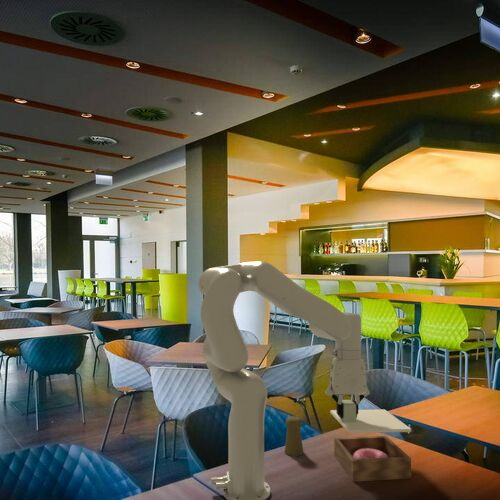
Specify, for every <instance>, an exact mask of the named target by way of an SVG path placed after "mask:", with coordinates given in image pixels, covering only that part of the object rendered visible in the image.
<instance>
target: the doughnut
mask: <svg viewBox="0 0 500 500" xmlns="http://www.w3.org/2000/svg"><path fill="white" fill-rule="evenodd" d="M353 457H354V459H355V460H357V459H375V458H388V456H387V455H386V454H385V453H384V452H382V451H379V450H376V449H370V448H366V449H361V448H360V450H357V451H356V452H355V453H354V454H353Z"/></svg>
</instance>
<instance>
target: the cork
mask: <svg viewBox="0 0 500 500" xmlns="http://www.w3.org/2000/svg"><path fill="white" fill-rule="evenodd" d="M285 426H286V428H287V431H286V437H285V438H286V439H285V447H284V453H285V455H287V456H289V457H299V456H302V455H303V454H304V447H303V438H302V432H301V431H302V430H301V427H302V426H303V421H302V418H300V417H299V416H294V415H293V416H288V417H287V418H286V420H285Z"/></svg>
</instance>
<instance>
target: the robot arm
mask: <svg viewBox="0 0 500 500" xmlns="http://www.w3.org/2000/svg"><path fill="white" fill-rule="evenodd" d="M198 288H199V291H200V292H201V294H202V295H204V297H203V299H202V303H201V307H200V321H201V324H202V327H203V329H204V333H205V336H206V338H205V340H204V341H203V345H202V354H203V359H204V361H205V364H206V366H207V369H208V370H209V371H208V372H209V373H210V376H211V378H212V380H213V383H214V386H215V387H216V389H217V391H218V392H219V394H220V395H221V396H222V397H223V398H225V399H226V400H227V401H229V402H230V404H231V405H230V406H231V408H230V410H229V411H230V412H229V417H228V424H227V425H228V427H227V429H228V430H227V431H228V432H227V433H228V438H227V439H228V450H227V451H228V462H227V463H228V471H227V470H226V475H222V476H220V477H218V476H214V477H210V480H211V481H210V485H211V486H215V489H216V490H217V489H218V490H219V489H221V490H222V495H223V497H224V498H225V500H267V499H268V498H269V497H270V495H271V487H270V485H269V483H267V482H266V481H265V413H266V406H267V398H268V388H267V386H266V385H267V384H266V382H264V379H262V378H261V376H260V375H258V374H256V373H255V372H252V371H251V370H248V369H246V368H245V367H246V366H247V365H248V362H249V350H248V347H247V345H246V343H245V340H244V338H243V336H242V333H241V331H240V328H239V327H238V324H237V320H236V318H235V314H234V313H235V311H234V306H235V304H236V300H237V299H238V297H239V295H240V294H241V293H244V292H255V293H257V294H259V295H260V296H261V297H263V298H264V299H266V300H267V301H268V302H270V303H271V304H272V305H274V306H275V307H276V308H277V309H279V310H280V311H282V312H283V313H285V314H287V315H290V316H292V317H293V318H294V317H295V318H297V319H300V320H303V321H306V322H307V323H308V328H309V331H310V332H311V333H312V334H313V335H314V336H316V337H317V338H322V339H327V340H329V341H330V340H331V341H334V342H335V347H334V349H333V350H330V356H334V357H333V358H332V361H331V368H330V375H329V377H330V378H329V384H328V386H327V387H326V390H325V391H324V393H325V395H326V396H328V397H330V398H332V399H333V400H334V401H335V403H336V410H337V414H338V416H339V417H340V418H343V404H342V400H343V398H344V396H345V395H346V396H348V395H349V396H350V395H351V396H352V402H354V403H355V404H356V418H357V414H358V410H359V405H360V404H361V401H363V399H364V398H365V397H366V398H367V396H369V395H370V394H371V392H370V389H369V388H368V385H367V384H368V383H367V373H366V372H367V371H366V364H365V361H364V360H365V359H362V317H361V315H360V314H358V313H356V312H355V313H354V312H343V311H341V310H340V309H338V308H337V307H336V306H335V305H334V304H331V303H330V302H328V301H327V300H325V299H324V298H321V297H319V296H318V295H316V294H314V293H312V292H310V291H309V290H307V289H305V288H303V287H302V286H300V285H298V284H297V283H296V282H295V281H293V280H292V278H289V276H287V275H286V274H284V273H283V272H282V271H280V270H279V269H278V268H277V267H275V266H274V265H272V264H271V263H269V262H266V261H260V260H259V261H258V260H257V261H246V262H241V263H236V264H230V265H224V266H216V267H211V268H210V267H209V268H208V269H206V270H204V271H203V272H202V273H201V274H200V276H199V278H198ZM333 392H334V393H333Z"/></svg>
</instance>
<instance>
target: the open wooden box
mask: <svg viewBox="0 0 500 500" xmlns="http://www.w3.org/2000/svg"><path fill="white" fill-rule="evenodd" d="M333 441H334V442H333V443H334V444H333V445H334V446H333V447H334V448H333V451H334V453H333V455H334V458H335V460H336V461H338V463H339V464H340V466H341V467H342V469H343V470H344V471H345V472H346V474H347V475H348V477H349V478H350V480H351V481H352V482H353V483H355V482H368V481H369V482H371V481H372V482H373V481H387V480H388V481H389V480H402V479H403V480H404V479H412V458H411V457H410V456H409V455H408V454H407V452H405V451H404V450H402V449H401V447H399V446H398V445H397V444H396V443H394V441H392V440H391V439H390V438H389V437H388V436H387V435H377V436H376V435H375V436H373V435H372V436H353V437H352V436H351V437H337V438H335V437H334V440H333ZM360 448H361V449H366V448H370V449H376V450H379V451H382V452H384V453H385V454H386V455H387V456H388V458H375V459H357V460H355V459H354V457H353V454H354V453H355V452H356V451H357V450H360Z"/></svg>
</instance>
